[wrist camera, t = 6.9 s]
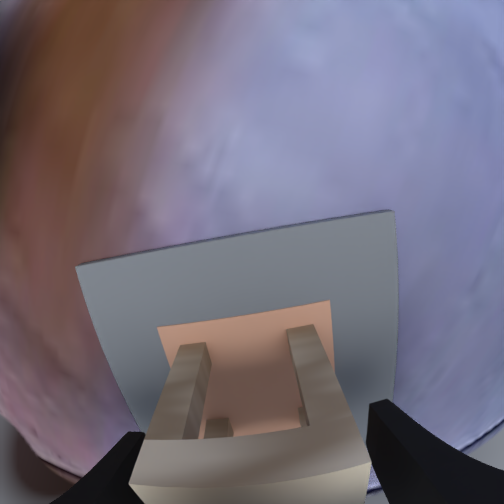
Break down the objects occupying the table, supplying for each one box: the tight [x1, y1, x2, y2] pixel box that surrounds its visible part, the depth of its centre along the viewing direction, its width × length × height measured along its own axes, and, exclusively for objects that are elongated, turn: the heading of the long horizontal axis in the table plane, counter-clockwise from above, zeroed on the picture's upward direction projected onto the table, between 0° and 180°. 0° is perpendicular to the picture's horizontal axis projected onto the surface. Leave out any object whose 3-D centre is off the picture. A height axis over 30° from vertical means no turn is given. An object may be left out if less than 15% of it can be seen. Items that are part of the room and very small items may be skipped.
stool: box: [129, 324, 372, 504], centre depth 8 cm, size 5×5×6 cm
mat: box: [75, 210, 399, 449], centre depth 12 cm, size 12×12×1 cm
